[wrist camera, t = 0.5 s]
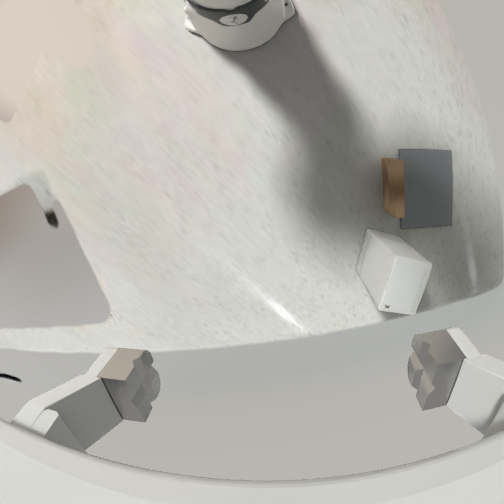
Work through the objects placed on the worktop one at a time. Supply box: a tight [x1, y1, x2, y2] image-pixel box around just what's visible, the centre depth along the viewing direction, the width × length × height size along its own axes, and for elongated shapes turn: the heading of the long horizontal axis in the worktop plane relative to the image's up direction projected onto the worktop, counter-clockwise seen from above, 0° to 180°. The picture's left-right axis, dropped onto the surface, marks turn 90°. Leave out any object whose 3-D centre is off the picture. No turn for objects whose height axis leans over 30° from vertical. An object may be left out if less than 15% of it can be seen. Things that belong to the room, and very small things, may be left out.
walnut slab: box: [382, 158, 405, 218], centre depth 45 cm, size 9×2×6 cm, turn 6°
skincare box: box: [356, 229, 433, 315], centre depth 44 cm, size 8×7×16 cm
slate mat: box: [398, 149, 452, 229], centre depth 47 cm, size 14×11×1 cm
